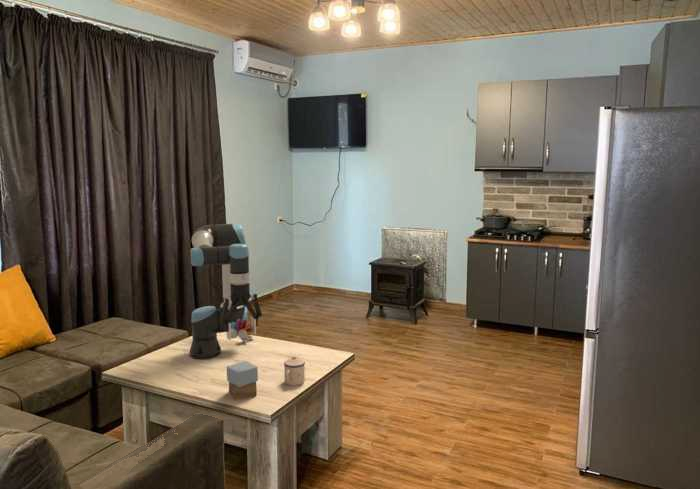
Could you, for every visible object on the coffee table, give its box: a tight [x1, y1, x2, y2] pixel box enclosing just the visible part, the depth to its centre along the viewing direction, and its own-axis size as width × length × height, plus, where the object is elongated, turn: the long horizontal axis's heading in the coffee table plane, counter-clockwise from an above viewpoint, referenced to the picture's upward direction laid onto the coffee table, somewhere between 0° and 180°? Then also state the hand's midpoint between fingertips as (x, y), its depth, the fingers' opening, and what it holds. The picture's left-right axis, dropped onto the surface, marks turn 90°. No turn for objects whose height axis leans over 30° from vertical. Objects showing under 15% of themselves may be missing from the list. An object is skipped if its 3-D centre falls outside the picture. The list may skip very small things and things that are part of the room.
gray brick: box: [226, 360, 259, 387], centre depth 221 cm, size 9×9×6 cm
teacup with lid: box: [283, 355, 306, 386], centre depth 233 cm, size 12×9×12 cm
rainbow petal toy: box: [231, 319, 253, 340], centre depth 219 cm, size 8×10×7 cm
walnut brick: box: [228, 381, 258, 401], centre depth 222 cm, size 9×9×6 cm
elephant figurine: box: [240, 335, 254, 346], centre depth 285 cm, size 10×6×9 cm
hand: (241, 336), depth 219 cm, fingers closed on rainbow petal toy, 10 cm apart
